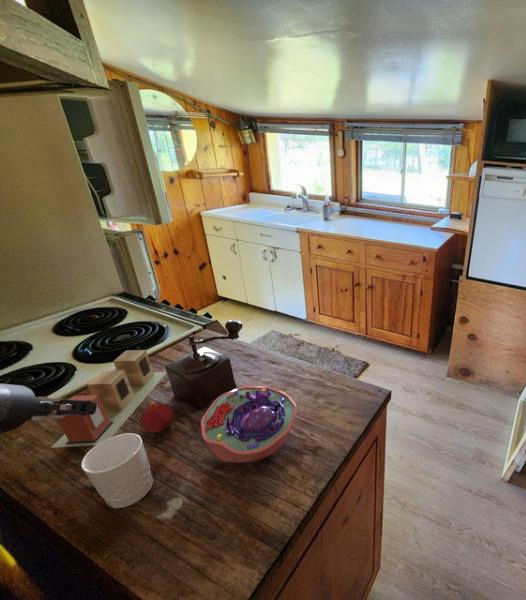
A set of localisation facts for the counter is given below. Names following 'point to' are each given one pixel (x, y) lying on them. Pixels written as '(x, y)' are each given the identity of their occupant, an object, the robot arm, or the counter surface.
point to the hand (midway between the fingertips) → (70, 410)
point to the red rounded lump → (156, 417)
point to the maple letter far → (135, 367)
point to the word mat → (117, 415)
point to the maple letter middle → (112, 390)
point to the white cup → (119, 470)
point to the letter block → (85, 422)
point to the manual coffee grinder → (203, 372)
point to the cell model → (248, 423)
